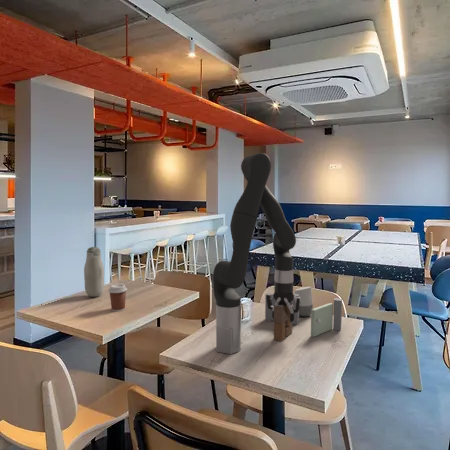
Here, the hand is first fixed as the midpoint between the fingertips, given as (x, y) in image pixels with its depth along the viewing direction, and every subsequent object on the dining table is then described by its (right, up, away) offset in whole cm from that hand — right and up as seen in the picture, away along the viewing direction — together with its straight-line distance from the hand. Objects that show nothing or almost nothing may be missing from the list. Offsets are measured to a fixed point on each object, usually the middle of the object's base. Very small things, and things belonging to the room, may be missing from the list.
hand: (283, 320), depth 157 cm
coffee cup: (-77, -4, +36) cm, 85 cm away
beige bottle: (-97, -1, +59) cm, 113 cm away
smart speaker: (+13, -4, +27) cm, 31 cm away
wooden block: (0, -7, +1) cm, 7 cm away
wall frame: (+11, -5, +15) cm, 19 cm away
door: (+17, -6, +4) cm, 19 cm away
